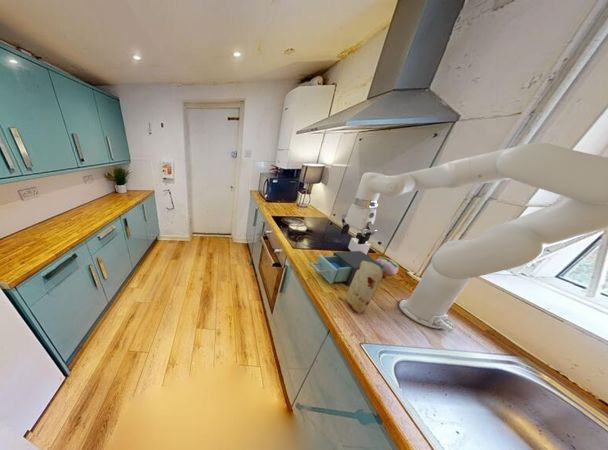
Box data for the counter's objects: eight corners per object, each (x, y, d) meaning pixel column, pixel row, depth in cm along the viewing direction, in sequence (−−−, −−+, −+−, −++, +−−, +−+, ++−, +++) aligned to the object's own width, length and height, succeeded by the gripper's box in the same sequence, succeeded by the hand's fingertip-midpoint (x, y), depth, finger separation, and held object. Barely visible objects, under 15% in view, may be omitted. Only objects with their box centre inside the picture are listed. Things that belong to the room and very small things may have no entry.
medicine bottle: (366, 255, 113) (374, 237, 108) (352, 253, 114) (360, 235, 109) (360, 249, 119) (367, 231, 114) (347, 247, 120) (354, 230, 115)
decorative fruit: (397, 277, 95) (406, 260, 91) (389, 283, 91) (398, 265, 87) (374, 267, 103) (382, 250, 98) (366, 271, 99) (374, 254, 95)
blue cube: (338, 276, 92) (341, 268, 90) (330, 276, 91) (332, 268, 90) (332, 270, 96) (335, 262, 94) (323, 270, 96) (326, 262, 94)
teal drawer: (318, 284, 88) (323, 270, 85) (304, 268, 98) (307, 255, 95) (357, 281, 90) (363, 268, 87) (339, 266, 100) (343, 253, 97)
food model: (340, 296, 83) (356, 256, 75) (357, 298, 82) (376, 258, 74) (350, 314, 74) (369, 272, 66) (370, 318, 73) (392, 275, 65)
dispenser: (347, 285, 89) (354, 267, 85) (328, 268, 101) (334, 252, 97) (375, 283, 91) (383, 266, 87) (354, 266, 103) (360, 251, 99)
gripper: (392, 209, 76) (376, 247, 83) (355, 197, 91) (344, 230, 98) (375, 209, 75) (360, 248, 82) (341, 197, 90) (331, 230, 97)
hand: (352, 238), depth 90 cm, fingers open, 9 cm apart
